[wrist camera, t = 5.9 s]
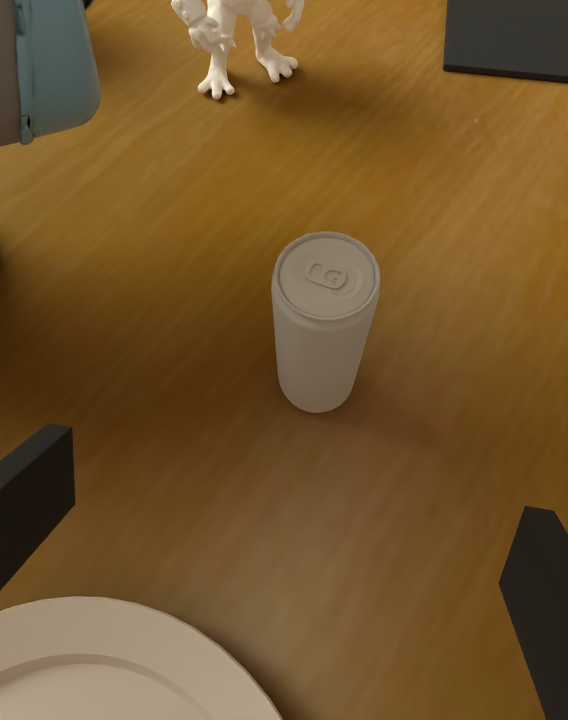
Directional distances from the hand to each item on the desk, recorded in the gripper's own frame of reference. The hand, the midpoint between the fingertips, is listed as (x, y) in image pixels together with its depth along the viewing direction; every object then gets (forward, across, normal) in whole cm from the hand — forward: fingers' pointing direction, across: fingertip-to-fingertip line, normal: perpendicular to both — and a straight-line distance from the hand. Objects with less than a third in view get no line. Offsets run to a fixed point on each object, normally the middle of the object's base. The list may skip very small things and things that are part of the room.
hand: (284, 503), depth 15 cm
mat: (+48, +13, +27) cm, 56 cm away
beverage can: (+18, 0, -4) cm, 18 cm away
